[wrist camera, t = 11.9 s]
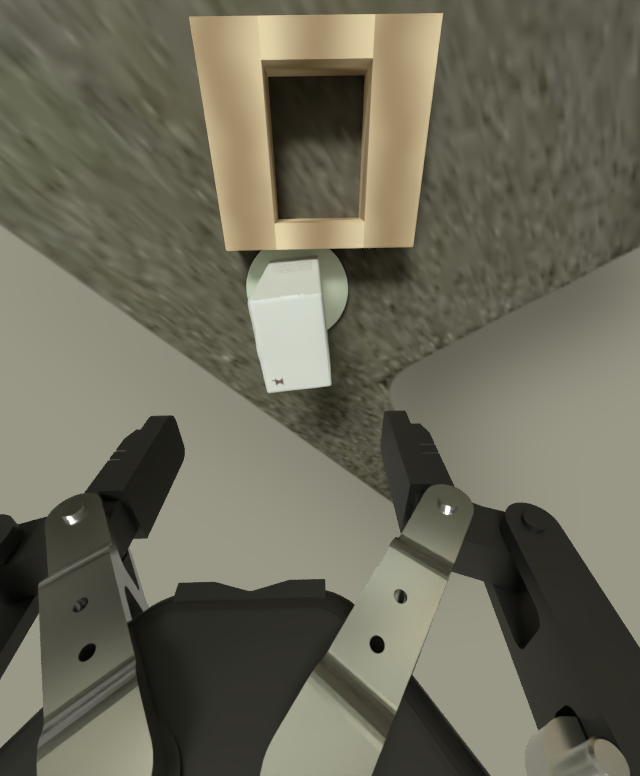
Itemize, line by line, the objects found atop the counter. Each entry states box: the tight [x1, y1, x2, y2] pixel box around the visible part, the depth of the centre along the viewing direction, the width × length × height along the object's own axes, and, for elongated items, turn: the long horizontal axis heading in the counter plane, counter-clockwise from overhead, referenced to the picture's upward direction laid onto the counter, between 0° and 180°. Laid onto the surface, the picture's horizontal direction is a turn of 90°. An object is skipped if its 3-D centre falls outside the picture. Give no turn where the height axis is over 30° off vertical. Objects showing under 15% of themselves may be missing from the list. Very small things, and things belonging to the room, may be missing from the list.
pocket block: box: [189, 13, 443, 251], centre depth 23 cm, size 14×12×4 cm
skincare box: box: [248, 255, 331, 393], centre depth 24 cm, size 6×4×12 cm
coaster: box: [246, 249, 348, 330], centre depth 29 cm, size 9×9×1 cm
